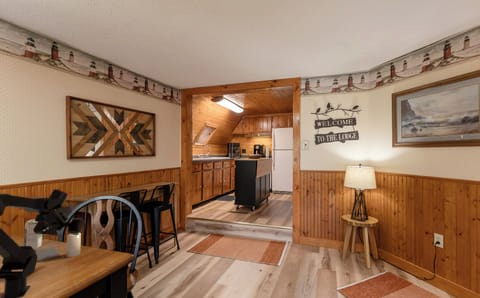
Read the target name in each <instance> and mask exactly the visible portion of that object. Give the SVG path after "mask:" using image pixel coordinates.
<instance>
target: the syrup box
mask: <svg viewBox="0 0 480 298" xmlns="http://www.w3.org/2000/svg"><path fill="white" fill-rule="evenodd" d="M36 224H37V222H35V219H34V218H33V219H30V220H27V221H26V222H25V224H24V237H23V238H24V239H23V246H31V247H32V248H33V249H34V250H39V248H40V247H42V245H43V234H35V233H34V232H33V229H34V227H35V226H36Z"/></svg>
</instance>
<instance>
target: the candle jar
mask: <svg viewBox="0 0 480 298" xmlns="http://www.w3.org/2000/svg"><path fill="white" fill-rule="evenodd" d="M81 238H82V233H81V232H79V234H78V235H73V234H70V233H68V234H67V236H66V254H65V256H66V258H73V257H78V256H79V255H81V247H82V246H81V243H82V241H81Z"/></svg>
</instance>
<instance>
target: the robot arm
mask: <svg viewBox="0 0 480 298" xmlns="http://www.w3.org/2000/svg"><path fill="white" fill-rule="evenodd" d="M68 197H69V196H68V193H66V192H64V191H63V190H60V189H57V188H56V189H52V192H51V193H50V195H49V197H27V196H26V197H25V196H20V195H19V196H18V195H12V194H9V193H0V217H1V216H3V215H4V213H5V210H6V208H16V209H23V210H24V211H25V212H29V213H37V215H36V217H35V222H37V224H36V226H35V227H34V229H33V232H34V233H35V234H42V235H46V236H53V237H54V236H55V237H57V236H58V235H59V233H58V231H62V230H63V228H68V229H67V231H68V233H69V234H73V235H78V234H79V233H81V230H82V228H83V226H84V224H85V220H84V219H83V218H73V219H71V221H69V216H70V215H71V214H72V213H73V211H72V208H71V206H70V205H67V206H66V205H64V203H65V201H66V200H67V198H68ZM35 250H36V249H33V248H32V247H31V246H24V245H19V244H18V243H17V242H16V241H15V240H14V239H13V238H12V237H11V236H10V235H9V234H8V233H7V232H5V230H4V229H3V228H2V227H0V257H2V261H1V267H0V280H4V293H3V294H2V295H1V296H0V298H19V297H23V296H25V295H26V294H27V292H28V291H29V289H30V288H31V285H27V284H28V282H27V281H28V277H29V276H31V275H32V274H33V273H35V269H36V265H37V263H38V262H37V254H36V253H35V252H36V251H35Z"/></svg>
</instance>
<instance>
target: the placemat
mask: <svg viewBox="0 0 480 298" xmlns="http://www.w3.org/2000/svg"><path fill="white" fill-rule="evenodd" d="M34 250H35V251H36V252H35V253H36V254H37V263H38V262H42V261H46V260H51V259H54V258H55V259H56V258H58V257H61V255H60V253H59V251H58V250H57V249H56V247H55V246H53V245H52V246H49V247H45V248H41V249H39V248H38V249H34Z"/></svg>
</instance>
